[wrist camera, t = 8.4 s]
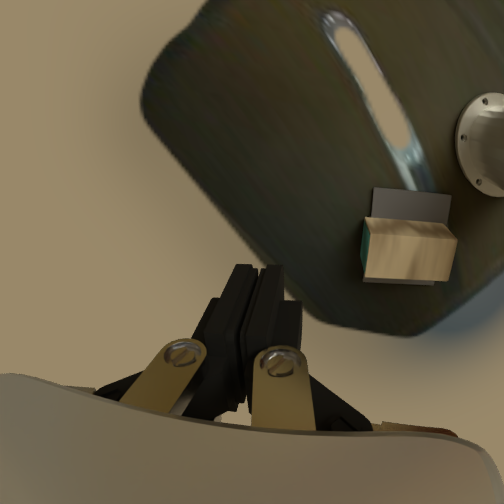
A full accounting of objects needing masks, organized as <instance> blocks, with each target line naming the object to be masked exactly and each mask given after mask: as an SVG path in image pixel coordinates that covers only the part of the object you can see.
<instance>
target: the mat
mask: <svg viewBox="0 0 504 504" xmlns="http://www.w3.org/2000/svg"><path fill="white" fill-rule="evenodd" d="M451 197H452V196H451V195H447V194H438V193H429V192H420V191H410V190H399V189H388V188H376V187H374V189H373V200H372V211H371V218H385V219H398V220H410V221H422V222H434V223H443V224H444V225H445V226H446V227H447V221H448V216H449V210H450V203H451ZM363 282H373V283H393V284H415V285H434V281H433V280H411V279H391V278H371V277H365V275H364V276H363Z"/></svg>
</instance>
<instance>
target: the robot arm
mask: <svg viewBox="0 0 504 504" xmlns="http://www.w3.org/2000/svg"><path fill="white" fill-rule="evenodd" d="M482 100H483V103H482ZM461 135H462V139H461ZM455 150H456V155H457V160H458V162H459V165H460V168H461V170H462V172H463V173H464V175H465V177H466V178H467V179H468V181H469V182H470V183H471V184H472V185H473V186H474V187H475V188H476V189H478V190H479V191H481V192H483V193H484V194H487V195H489V196H493V197H504V94H500V93H485V94H481V95H479V96H477V97H475V98H473V99H472V100H471V101H470V102H469V103H468V104H467V105H466V106H465V108H464V109H463V110H462V113H461V115H460V117H459V119H458V123H457V126H456V132H455ZM476 180H477V182H476ZM301 336H302V301H290V300H284V272H283V265H267V267H266V269H265V268H261V271H260V274H259V277H258V269H257V268H253V267H252V265H251V264H236V265H235V268H234V270H233V272H232V274H231V276H230V278H229V280H228V282H227V284H226V286H225V288H224V291H223V292H222V294H221V297H220V298H212V299H211V300H210V303H209V304H208V306H207V308H206V310H205V312H204V314H203V316H202V318H201V320H200V322H199V324H198V326H197V328H196V330H195V332H194V333H193V335H192V337H191V339H189V338H185V339H178V340H175V341H172V342H170V343H168V344H167V345H165V346H164V347H163V348H162V349H161V350H160V352H159V353H158V354H157V355H156V356H155V358H154V359H153V360H152V362H151V363H150V364H149V365H148V366H147V368H146V369H145V370H144V371H141V372H139V373H137V374H134V375H131V376H129V377H126V378H124V379H121V380H118V381H116V382H114V383H111V384H108V385H106V386H104V387H102V388H100V389H99V390H97V391H96V389H95V388H88V387H74V386H63V385H60V384H57V383H53V382H50V381H47V380H43V379H40V378H37V377H32V376H27V375H23V374H14V373H9V374H0V504H504V485H503V482H502V479H501V476H500V473H499V471H498V469H497V466H496V464H495V463H494V461H493V459H492V458H491V456H490V455H489V454H488V453H487V452H486V451H485V450H484V449H483V448H482V447H480V446H479V445H477V444H475V443H472V442H470V441H468V440H464V439H462V438H458V436H457V435H456V434H455V433H454V432H452V431H451V430H448V429H443V428H434V427H422V426H414V425H406V424H398V423H390V422H384V421H382V424H381V425H379V424H372V423H370V421H369V420H368V419H367V418H365V416H364V415H362V414H361V413H360V412H358V411H357V410H356V409H354V408H353V407H352V406H350V405H349V404H348V403H346V402H345V401H344V400H342V399H341V398H339V397H338V396H337V395H335V394H334V393H333V392H331V391H330V390H329V389H327V388H326V387H325V386H324V385H322V384H321V383H320V382H318V381H317V380H316V379H315V378H313V377H312V376H311V375H310V374H309V373H308V365H307V360H306V357H305V355H304V354H303V353H302V352H301V351H300V348H301ZM246 395H247V401H248V408H249V413H250V414H251V415H252V419H251V426H244V425H237V424H228V423H222V422H221V414H223V413H225V412H227V411H233V412H236V411H237V408H238V404H239V403H244V402H245V399H246Z"/></svg>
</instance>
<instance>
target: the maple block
mask: <svg viewBox="0 0 504 504" xmlns="http://www.w3.org/2000/svg"><path fill="white" fill-rule="evenodd" d="M457 241H458V240H457V239H456V237H455V236H454V235H453V234H452V233H451V232H450V231H449V229H448V228H447V227H446V226H445V225H444V224H443V223H434V222H422V221H410V220H398V219H385V218H370V217H365V220H364V226H363V235H362V244H361V252H360V257H361V261H362V266H363V270H364V275H365V277H371V278H391V279H411V280H433V281H448V278H449V275H450V271H451V267H452V263H453V259H454V254H455V250H456V246H457Z"/></svg>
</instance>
